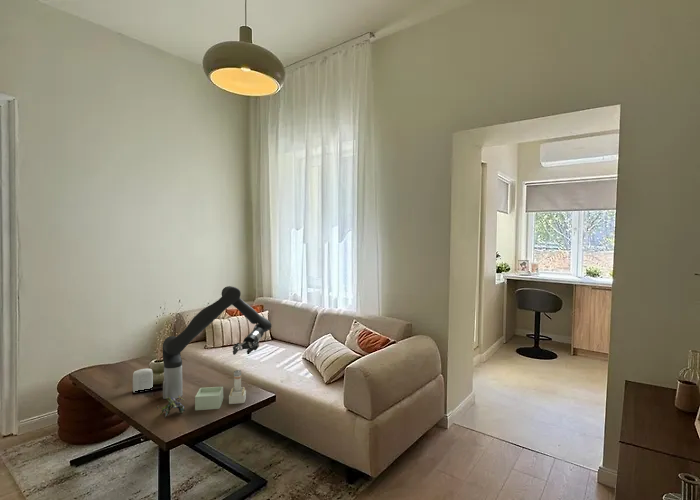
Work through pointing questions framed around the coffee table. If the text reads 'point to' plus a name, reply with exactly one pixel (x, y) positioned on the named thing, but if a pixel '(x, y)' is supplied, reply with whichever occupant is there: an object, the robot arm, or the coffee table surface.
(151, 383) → the photo printer
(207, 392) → the tray
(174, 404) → the passion flower
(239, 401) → the fuse holder
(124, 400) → the coffee table surface
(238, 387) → the fuse
